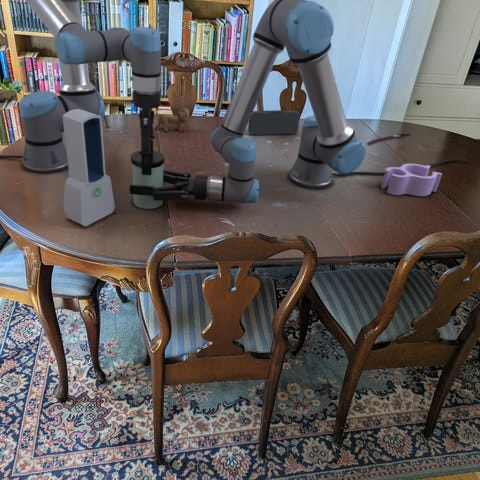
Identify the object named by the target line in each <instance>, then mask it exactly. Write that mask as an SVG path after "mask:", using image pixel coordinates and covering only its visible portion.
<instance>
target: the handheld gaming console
mask: <svg viewBox="0 0 480 480" xmlns="http://www.w3.org/2000/svg"><path fill="white" fill-rule="evenodd" d="M300 118H301V113H300V112H299V111H298V110H288V109H284V110H283V109H282V110H254V111H253V113H252V115H251V118H250V120H249V122H248V125H247V127H248V128H247V132H248V133H249V135H252V136H264V135H265V136H267V135H293V134H294V135H295V134H296V133H297V132H298V131H299V122H300Z"/></svg>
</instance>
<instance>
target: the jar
mask: <svg viewBox="0 0 480 480" xmlns="http://www.w3.org/2000/svg"><path fill="white" fill-rule="evenodd" d="M131 166H132V169H131V170H132V185H139V186H154V188H159V187H164V182H163V170H164V164H163V165H161V166H159V167H156V168H152V175H142V168H140V167H137V166H135V165H133V164H132V163H131ZM132 195H133V198H132V199H133V204H134V206H136V207H138V208H140V209H143V210H145V209H146V210H151V209H157V208H159V207H161V206H162V205H163V204H164V200H158V201H155V200H153V197H152V196H147V195H134V194H132Z"/></svg>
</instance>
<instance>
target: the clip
mask: <svg viewBox="0 0 480 480" xmlns="http://www.w3.org/2000/svg"><path fill="white" fill-rule="evenodd" d="M429 165H430V164H427V165H423V164H418V163H404V164H402V165H401V166H398V167H397V166H389V167H386V168H385V171H384V172H385V175H383V178H382V182H381V184H380V185H381V186H380V189H382V190H383V189H384V190H385V189H386V188H387V190H386V194H388V195H392V196H402V195H411V196H416V197H426V196H429V195H431V194H432V192H433V193H436V192H437V190H438V187H439V184H440V181H441V178H442V175H443V173H441V172H438V171H432V172H431V175H429V176H428V174H429V172H430V169H431V167H430V166H429Z"/></svg>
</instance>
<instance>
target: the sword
mask: <svg viewBox="0 0 480 480" xmlns="http://www.w3.org/2000/svg"><path fill="white" fill-rule="evenodd" d="M401 134H402V133H396V134H392V135H389V136H383V137H379V138H376V139H372V140H370V141H368V143H367V144H368V145H372V144H373V143H377V142H381V141H384V140H389V139H393V138H400V137H402V136H406V135H409V134H404V135H401Z"/></svg>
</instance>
